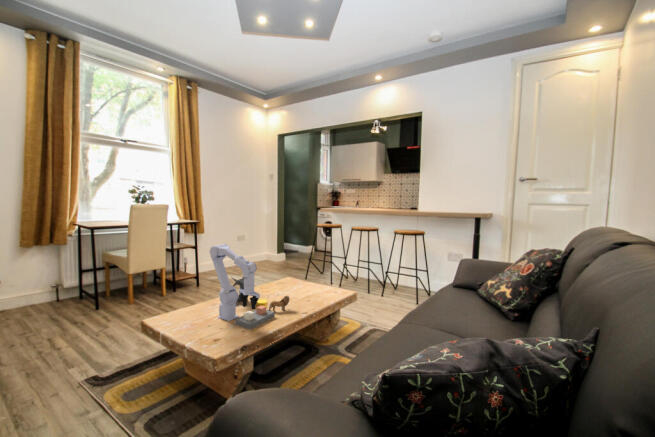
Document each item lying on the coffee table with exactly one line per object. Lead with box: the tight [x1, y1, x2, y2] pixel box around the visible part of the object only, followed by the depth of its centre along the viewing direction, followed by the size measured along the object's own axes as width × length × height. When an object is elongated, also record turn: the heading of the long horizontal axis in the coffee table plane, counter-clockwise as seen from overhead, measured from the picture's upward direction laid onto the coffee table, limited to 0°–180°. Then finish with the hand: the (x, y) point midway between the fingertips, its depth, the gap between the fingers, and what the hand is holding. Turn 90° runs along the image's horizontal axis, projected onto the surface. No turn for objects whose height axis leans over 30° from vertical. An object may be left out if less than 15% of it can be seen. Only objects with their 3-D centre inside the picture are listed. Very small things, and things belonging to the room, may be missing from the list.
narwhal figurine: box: [231, 276, 250, 307], centre depth 205 cm, size 14×15×18 cm
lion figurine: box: [267, 295, 290, 314], centre depth 192 cm, size 15×5×9 cm, turn 120°
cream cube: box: [243, 310, 254, 321], centre depth 172 cm, size 4×4×4 cm
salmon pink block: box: [255, 305, 267, 315], centre depth 181 cm, size 4×4×4 cm
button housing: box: [234, 309, 275, 330], centre depth 177 cm, size 12×20×3 cm, turn 150°
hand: (249, 307), depth 172 cm, fingers open, 6 cm apart
